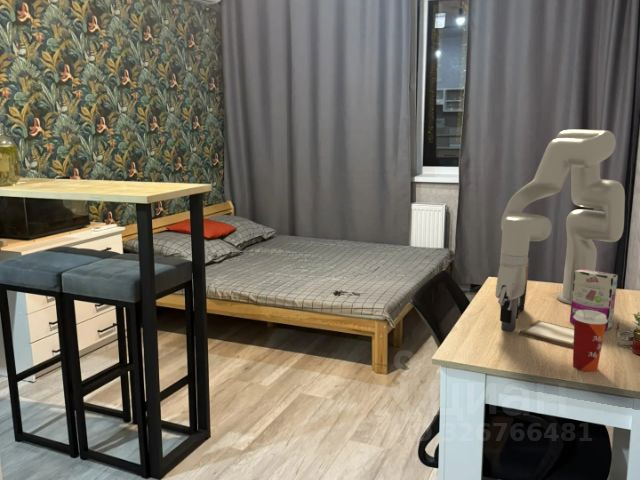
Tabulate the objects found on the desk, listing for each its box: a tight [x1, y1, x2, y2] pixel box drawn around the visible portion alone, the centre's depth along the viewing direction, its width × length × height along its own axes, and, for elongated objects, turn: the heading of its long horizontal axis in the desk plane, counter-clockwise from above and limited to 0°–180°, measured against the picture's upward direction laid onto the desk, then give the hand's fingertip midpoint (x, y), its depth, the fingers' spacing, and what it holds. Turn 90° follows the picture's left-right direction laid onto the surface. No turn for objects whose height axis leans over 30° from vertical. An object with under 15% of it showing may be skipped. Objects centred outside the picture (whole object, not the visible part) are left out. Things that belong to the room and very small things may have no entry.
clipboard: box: [518, 319, 574, 349], centre depth 166 cm, size 13×16×2 cm
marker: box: [500, 297, 518, 333], centre depth 170 cm, size 4×4×13 cm
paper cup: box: [572, 310, 608, 373], centre depth 144 cm, size 8×8×14 cm
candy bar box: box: [569, 269, 619, 331], centre depth 174 cm, size 11×5×16 cm, turn 47°
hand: (509, 319), depth 170 cm, fingers closed on marker, 3 cm apart
